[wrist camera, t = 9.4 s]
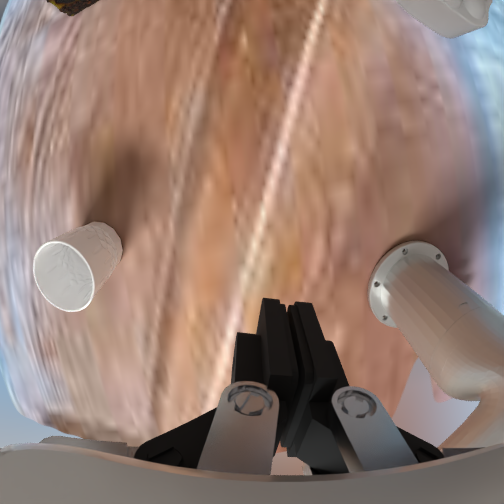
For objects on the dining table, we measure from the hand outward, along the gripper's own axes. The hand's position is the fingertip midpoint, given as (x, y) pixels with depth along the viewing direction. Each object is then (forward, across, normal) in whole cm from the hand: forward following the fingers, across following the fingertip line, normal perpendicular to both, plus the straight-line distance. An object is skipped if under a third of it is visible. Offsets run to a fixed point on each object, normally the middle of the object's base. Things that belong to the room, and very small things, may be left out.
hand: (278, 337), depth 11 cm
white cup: (+27, +19, +8) cm, 34 cm away
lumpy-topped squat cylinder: (+27, -18, -32) cm, 46 cm away
